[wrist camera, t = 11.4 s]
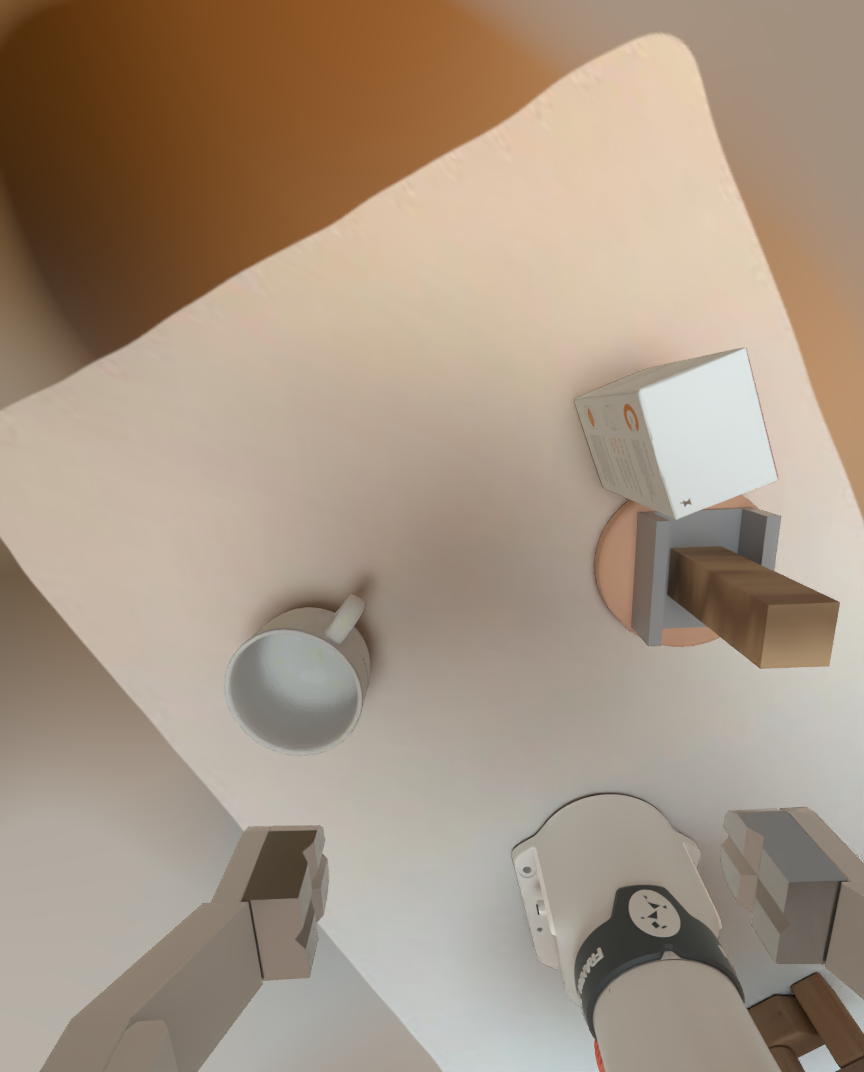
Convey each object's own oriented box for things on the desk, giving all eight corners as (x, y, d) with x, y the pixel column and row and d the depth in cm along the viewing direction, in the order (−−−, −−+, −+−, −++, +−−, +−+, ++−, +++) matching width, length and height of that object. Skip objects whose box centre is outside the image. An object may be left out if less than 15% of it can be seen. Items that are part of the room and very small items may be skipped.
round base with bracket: (747, 630, 45) (793, 663, 39) (591, 637, 45) (615, 670, 39) (765, 476, 41) (820, 487, 35) (597, 483, 41) (623, 495, 36)
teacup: (319, 720, 47) (297, 781, 39) (233, 646, 45) (191, 695, 38) (424, 627, 45) (421, 673, 37) (337, 544, 43) (315, 574, 35)
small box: (675, 460, 41) (782, 483, 28) (601, 489, 42) (674, 523, 29) (647, 365, 39) (749, 344, 27) (571, 397, 40) (635, 391, 27)
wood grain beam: (715, 593, 41) (829, 666, 29) (667, 594, 41) (760, 668, 29) (721, 546, 40) (839, 602, 28) (670, 548, 40) (768, 605, 28)
